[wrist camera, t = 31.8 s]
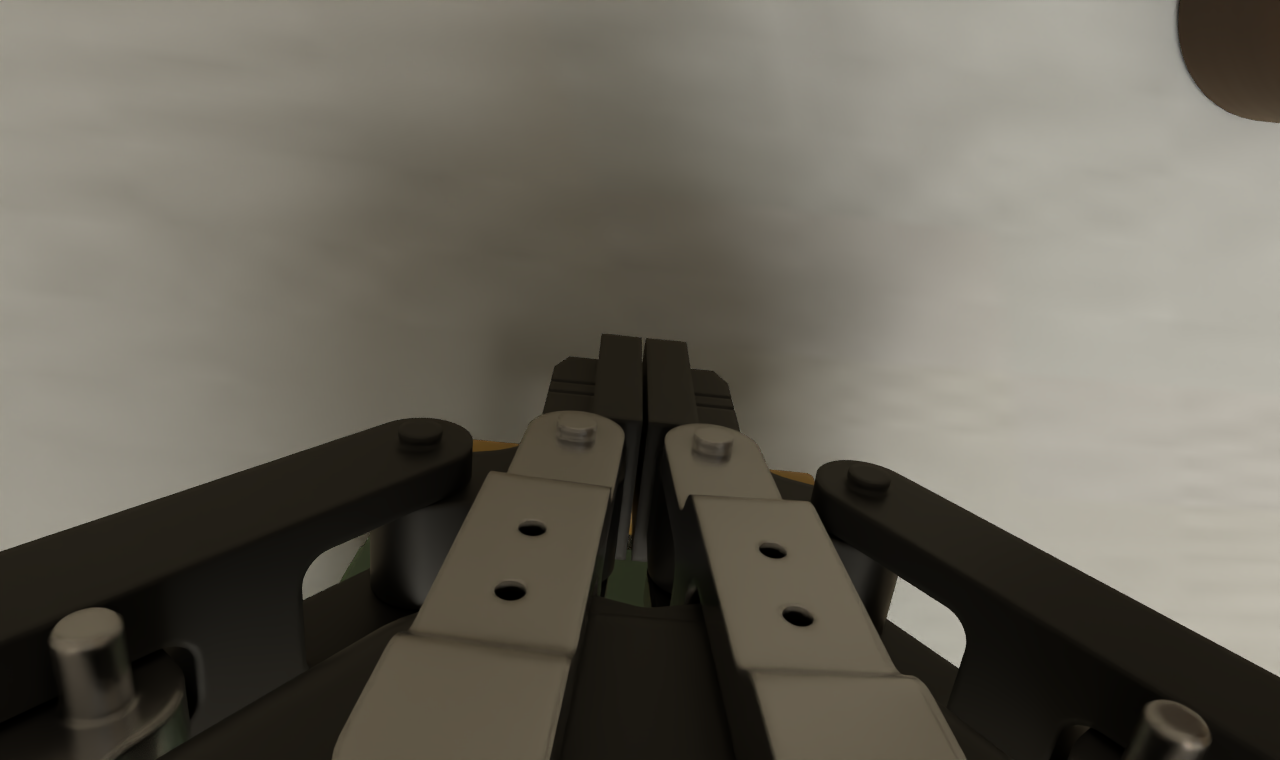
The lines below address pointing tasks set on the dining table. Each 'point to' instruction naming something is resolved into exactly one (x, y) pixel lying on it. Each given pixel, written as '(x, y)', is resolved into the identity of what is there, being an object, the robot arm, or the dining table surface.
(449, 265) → the dining table surface
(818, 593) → the robot arm
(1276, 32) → the pepper mill
